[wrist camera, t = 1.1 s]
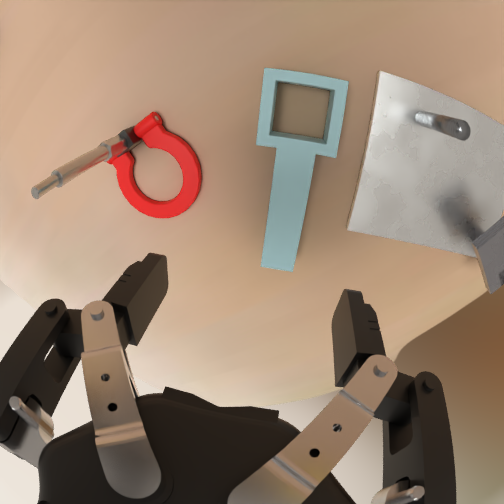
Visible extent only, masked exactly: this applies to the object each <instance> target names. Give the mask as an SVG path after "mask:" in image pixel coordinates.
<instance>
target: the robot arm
mask: <svg viewBox="0 0 504 504" xmlns="http://www.w3.org/2000/svg"><path fill="white" fill-rule="evenodd" d="M167 289H168V271H167V258H166V256H165V255H160V254H155V253H149V254H148V255H147V256H146V257H145V258H144V260H143V261H142V262H140V261H137V262H135V263H134V264H132V265H130V266H129V267H128V268H127V269H126V270H125V272H124V273H123V275H121V277H120V278H119V279H118V281H117V282H116V283H115V284H114V285H113V287H112V288H111V289H110V290H109V292H108V293H107V294H106V296H105V297H104V298H103V300H102V301H94V302H91V303H89V304H87V305H86V306H85V307H84V308H83V310H76V309H67V308H66V305H65V303H64V302H63V301H62V300H60V299H50V300H47V301H45V302H44V303H43V304H42V305H41V306H40V307H39V308H38V310H37V311H36V312H35V313H34V315H33V316H32V317H31V319H30V320H29V321H28V323H27V324H26V325H25V327H24V328H23V330H22V331H21V332H20V334H19V335H18V337H17V338H16V339H15V341H14V342H13V344H12V345H11V347H10V348H9V350H8V351H7V353H6V354H5V356H4V357H3V359H2V360H1V362H0V446H1V447H3V448H4V449H6V450H7V451H9V452H10V453H13V454H14V455H16V456H17V457H19V458H21V459H24V460H26V461H27V462H29V463H30V464H32V465H33V466H35V467H37V468H38V471H39V481H40V493H39V500H38V503H37V504H356V503H355V502H354V501H353V500H352V498H351V497H350V496H349V495H348V493H347V492H346V491H345V490H344V488H343V487H342V486H341V485H340V483H339V482H338V481H337V479H336V478H335V477H334V475H333V474H332V473H331V470H332V469H333V468H334V467H335V466H336V464H337V463H338V462H339V461H340V459H341V458H342V457H343V456H344V455H345V454H346V452H347V451H348V450H349V449H350V447H351V446H352V445H353V444H354V442H355V441H356V440H357V439H358V437H359V436H360V435H361V433H362V432H363V431H364V429H365V428H366V426H367V425H368V424H369V422H370V421H371V419H372V418H373V417H375V418H378V419H381V420H383V489H382V490H380V491H379V492H377V493H376V494H375V496H374V497H373V499H372V501H371V504H456V479H455V478H456V477H455V464H454V454H453V446H452V438H451V431H450V424H449V419H448V413H447V407H446V402H445V397H444V392H443V388H442V384H441V382H440V380H439V379H438V377H437V376H435V375H434V374H432V373H430V372H426V371H425V372H421V373H419V374H418V375H417V376H416V377H415V378H414V377H411V376H408V375H406V374H403V373H400V372H398V371H397V368H396V365H395V364H394V362H393V361H392V360H391V359H389V358H388V357H386V354H385V349H384V344H383V340H382V336H381V331H380V327H379V324H378V319H377V315H376V312H375V311H374V310H373V308H372V307H371V305H370V304H364V300H363V296H362V293H361V291H355V290H349V289H344V291H343V293H342V295H341V298H340V300H339V303H338V305H337V307H336V310H335V312H334V315H333V319H332V338H333V353H334V370H335V387H344V388H343V390H341V391H340V392H339V393H338V394H337V395H336V396H335V397H334V398H333V399H332V401H331V402H330V403H329V404H328V405H327V406H326V407H325V408H324V409H323V410H322V411H321V412H320V414H319V415H318V416H317V417H316V418H315V419H314V420H313V421H312V422H311V423H310V424H309V425H308V426H307V427H306V428H305V429H304V430H303V431H302V432H300V431H299V430H298V429H297V428H296V427H294V426H293V425H291V424H290V423H288V422H286V421H284V420H282V419H279V418H278V414H279V411H278V410H271V409H264V408H258V407H252V406H246V407H219V406H216V405H214V404H212V403H210V402H208V401H206V400H204V399H202V398H200V397H198V396H196V395H194V394H191V393H187V392H184V391H180V390H176V389H173V388H169V387H166V386H165V389H164V391H163V393H153V394H146V395H143V396H139V393H138V390H137V388H136V385H135V381H134V378H133V375H132V371H131V368H130V364H129V361H128V357H127V353H126V350H125V349H126V347H127V345H128V344H132V345H135V346H137V345H138V343H139V342H140V340H141V338H142V336H143V334H144V332H145V331H146V329H147V327H148V325H149V323H150V322H151V320H152V318H153V316H154V315H155V313H156V311H157V309H158V308H159V306H160V304H161V302H162V301H163V299H164V297H165V295H166V293H167ZM52 345H54V346H53V348H52V349H51V351H50V353H49V355H48V356H47V358H46V359H45V356H46V354H47V353H48V351H49V349H50V348H51V347H52ZM44 359H45V361H44ZM81 359H82V366H83V374H84V380H85V386H86V391H87V396H88V402H89V407H90V412H91V417H92V421H90V422H88V423H86V424H84V425H82V426H80V427H78V428H76V429H74V430H72V431H70V432H68V433H66V434H64V435H61V436H59V437H57V438H55V439H53V440H52V438H53V437H54V432H53V430H54V424H53V421H52V419H51V417H52V415H53V413H54V410H55V408H56V406H57V404H58V402H59V400H60V398H61V396H62V394H63V392H64V390H65V388H66V386H67V384H68V382H69V380H70V378H71V376H72V374H73V373H74V371H75V369H76V367H77V365H78V363H79V361H80V360H81Z"/></svg>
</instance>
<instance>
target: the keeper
mask: <svg viewBox="0 0 504 504" xmlns="http://www.w3.org/2000/svg"><path fill="white" fill-rule="evenodd" d="M472 245H473V248H474V251H475V254H476V257H477V260H478V263H479V266H480V269H481V272H482V275H483V279H484V282H485V286H486V288H487V290H488V291H489V292H490V294H492V293H493V292H494V291H496V290H497V289H498V288H499V287H501V286H502V285H503V284H504V216H503V217H502V218H501V219H500V220H498V221H497V222H496V223H495V224H494V225H493V226H491V227H490V228H489V229H488V230H487V231H485V232H484V233H483V234H482V235H480V236H479V237H478V238H477V239H475V240H474V241H473V242H472Z"/></svg>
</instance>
